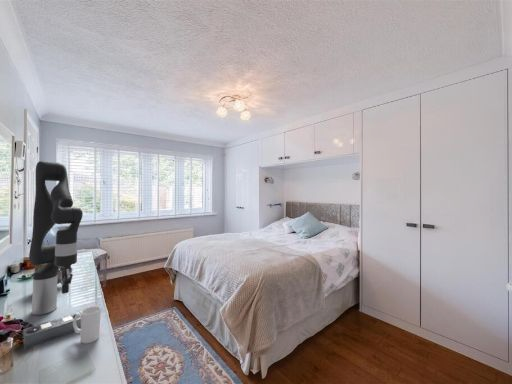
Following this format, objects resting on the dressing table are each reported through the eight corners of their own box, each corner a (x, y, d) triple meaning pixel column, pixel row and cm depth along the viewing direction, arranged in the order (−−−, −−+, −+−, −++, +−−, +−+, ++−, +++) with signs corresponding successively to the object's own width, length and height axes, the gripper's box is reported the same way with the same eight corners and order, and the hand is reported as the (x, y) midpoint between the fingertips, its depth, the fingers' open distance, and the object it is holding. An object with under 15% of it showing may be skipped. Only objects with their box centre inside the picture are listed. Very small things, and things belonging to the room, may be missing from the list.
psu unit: (22, 341, 94) (23, 328, 94) (82, 321, 109) (83, 310, 109) (24, 349, 89) (25, 336, 89) (87, 327, 105) (87, 315, 105)
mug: (103, 333, 101) (103, 305, 101) (94, 343, 94) (95, 314, 94) (77, 334, 99) (78, 306, 99) (67, 345, 93) (68, 315, 93)
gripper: (80, 254, 99) (79, 294, 99) (73, 248, 108) (72, 285, 108) (58, 258, 94) (56, 300, 94) (52, 251, 102) (51, 290, 102)
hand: (65, 292), depth 101 cm, fingers closed
